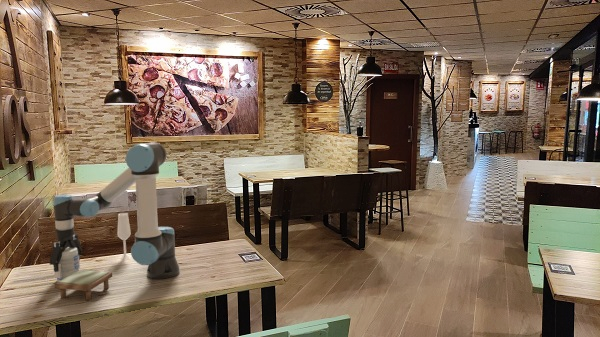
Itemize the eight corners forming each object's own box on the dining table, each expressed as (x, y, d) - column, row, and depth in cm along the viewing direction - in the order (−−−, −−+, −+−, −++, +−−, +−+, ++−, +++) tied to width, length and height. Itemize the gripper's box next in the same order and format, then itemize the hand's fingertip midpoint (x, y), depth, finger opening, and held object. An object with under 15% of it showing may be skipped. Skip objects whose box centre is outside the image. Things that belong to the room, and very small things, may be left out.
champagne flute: (132, 254, 241) (130, 212, 238) (131, 258, 235) (129, 215, 231) (119, 255, 239) (116, 213, 236) (118, 259, 232) (115, 216, 229)
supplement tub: (80, 281, 204) (78, 250, 202) (57, 285, 198) (55, 254, 196) (78, 274, 212) (76, 245, 210) (56, 278, 206) (53, 248, 204)
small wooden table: (113, 287, 196) (112, 271, 195) (89, 302, 181) (88, 285, 180) (81, 284, 199) (80, 269, 198) (56, 299, 184) (54, 282, 183)
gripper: (75, 221, 214) (78, 263, 217) (37, 234, 191) (41, 282, 194) (89, 222, 213) (91, 264, 216) (52, 235, 189) (56, 283, 192)
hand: (67, 273), depth 205 cm, fingers open, 12 cm apart
